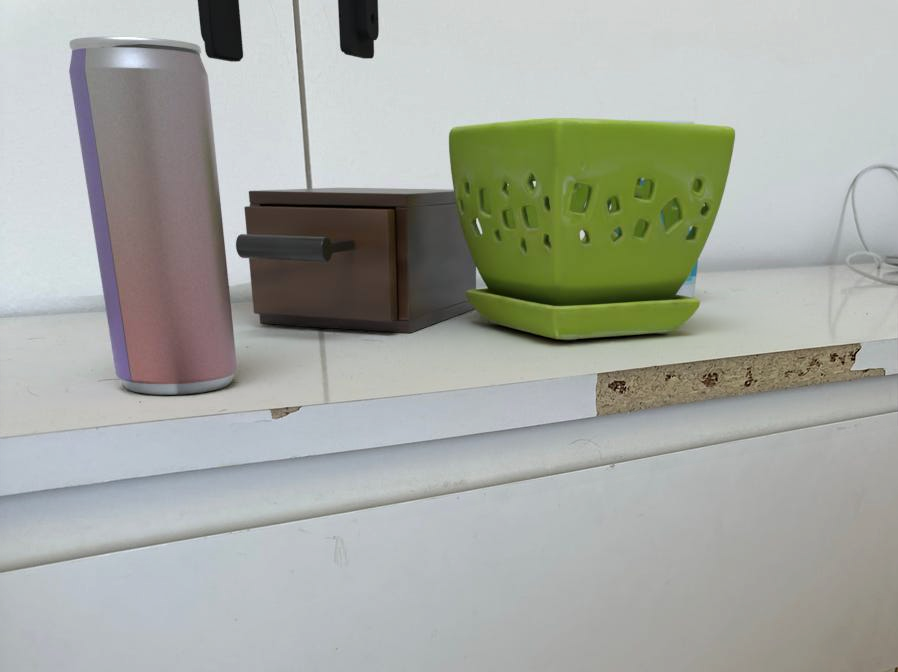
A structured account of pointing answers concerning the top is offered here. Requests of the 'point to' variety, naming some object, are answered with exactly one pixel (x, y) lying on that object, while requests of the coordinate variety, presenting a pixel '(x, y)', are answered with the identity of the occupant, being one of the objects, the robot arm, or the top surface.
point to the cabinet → (400, 253)
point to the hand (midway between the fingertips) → (290, 56)
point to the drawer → (322, 261)
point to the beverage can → (155, 211)
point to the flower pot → (587, 220)
